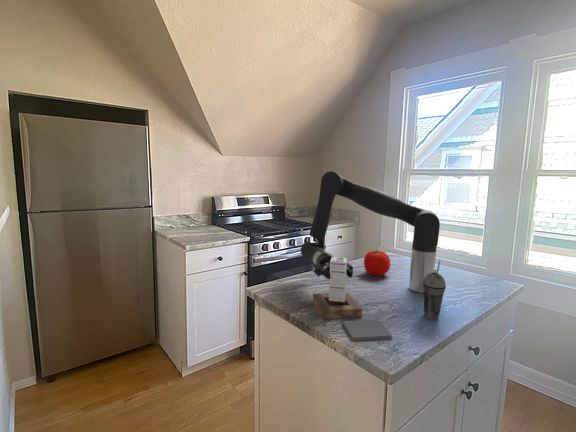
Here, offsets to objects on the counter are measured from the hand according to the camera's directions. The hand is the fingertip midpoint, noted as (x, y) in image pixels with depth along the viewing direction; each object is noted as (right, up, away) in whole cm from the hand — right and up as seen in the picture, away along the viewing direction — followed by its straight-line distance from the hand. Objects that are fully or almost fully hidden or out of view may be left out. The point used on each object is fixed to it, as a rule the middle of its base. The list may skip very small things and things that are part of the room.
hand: (340, 275), depth 110 cm
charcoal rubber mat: (+6, -15, -11) cm, 20 cm away
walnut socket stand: (-1, -13, +4) cm, 13 cm away
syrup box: (-1, -9, +3) cm, 10 cm away
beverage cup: (+31, -14, -1) cm, 34 cm away
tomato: (+24, -8, +42) cm, 49 cm away
